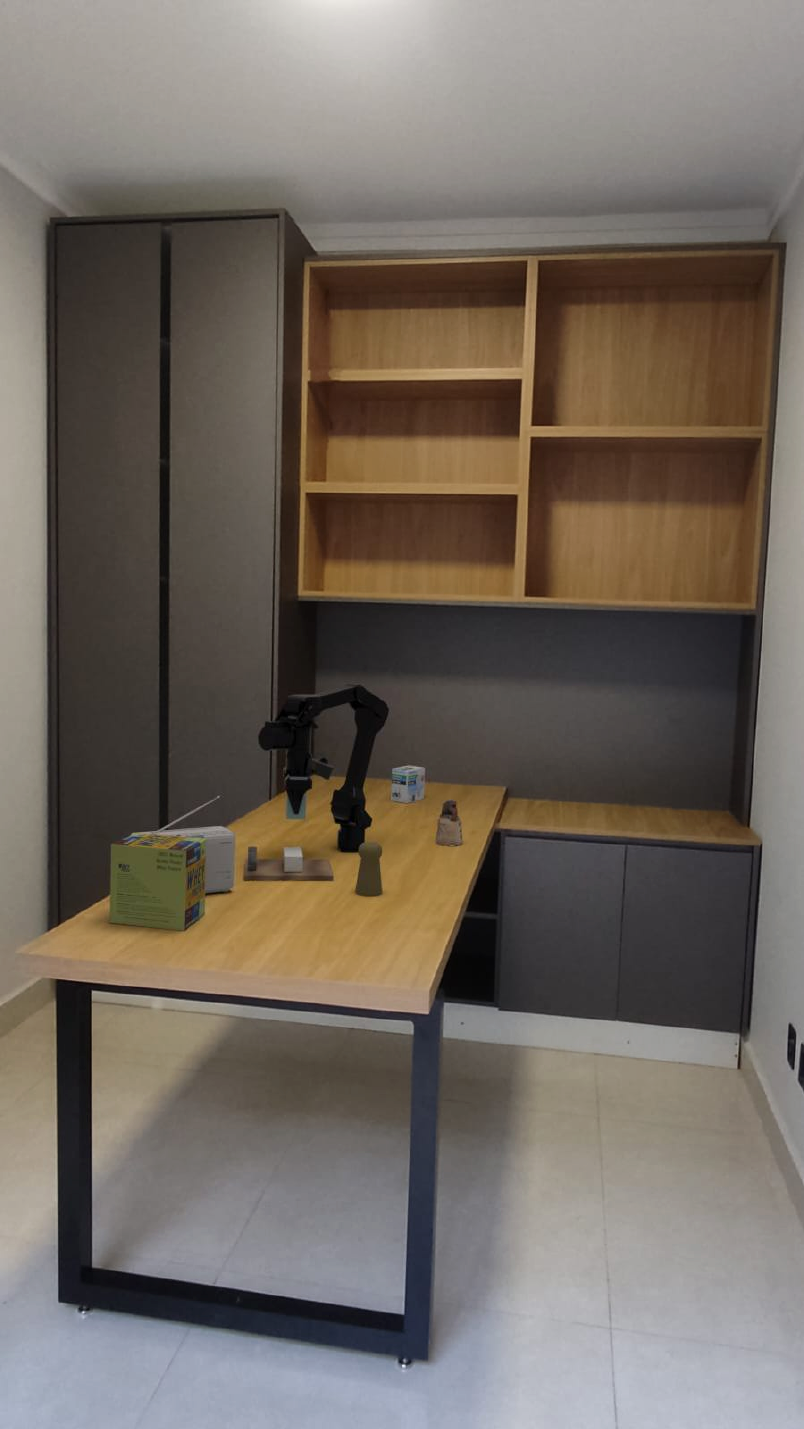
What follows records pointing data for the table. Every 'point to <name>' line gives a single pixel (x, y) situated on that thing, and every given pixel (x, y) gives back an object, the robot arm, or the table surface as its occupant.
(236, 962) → the table surface
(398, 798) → the light bulb box
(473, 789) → the table surface
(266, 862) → the board
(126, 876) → the protein box
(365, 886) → the olive pepper mill
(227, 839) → the stereo radio cassette player
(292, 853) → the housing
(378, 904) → the table surface
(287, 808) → the block
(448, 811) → the figurine
